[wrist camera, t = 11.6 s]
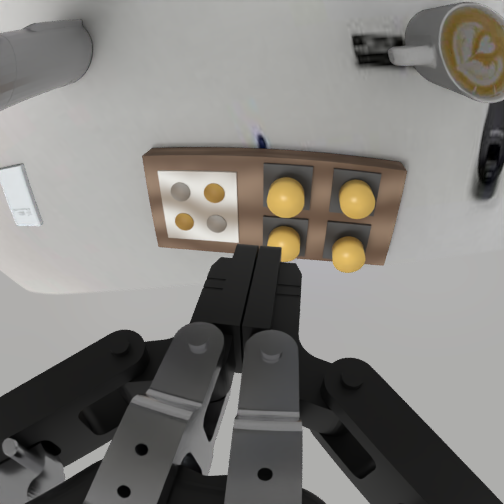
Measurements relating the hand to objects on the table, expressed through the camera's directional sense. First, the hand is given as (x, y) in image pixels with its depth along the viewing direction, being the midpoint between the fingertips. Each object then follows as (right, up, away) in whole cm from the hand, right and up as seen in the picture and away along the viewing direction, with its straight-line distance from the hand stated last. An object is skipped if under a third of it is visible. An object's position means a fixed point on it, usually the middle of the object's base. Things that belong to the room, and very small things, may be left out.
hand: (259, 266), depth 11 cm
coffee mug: (+20, +24, +15) cm, 35 cm away
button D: (+12, +1, +28) cm, 30 cm away
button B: (+4, +2, +29) cm, 30 cm away
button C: (+12, +7, +24) cm, 28 cm away
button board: (+2, +7, +31) cm, 32 cm away
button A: (+4, +7, +24) cm, 26 cm away
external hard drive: (-44, +12, +37) cm, 58 cm away
